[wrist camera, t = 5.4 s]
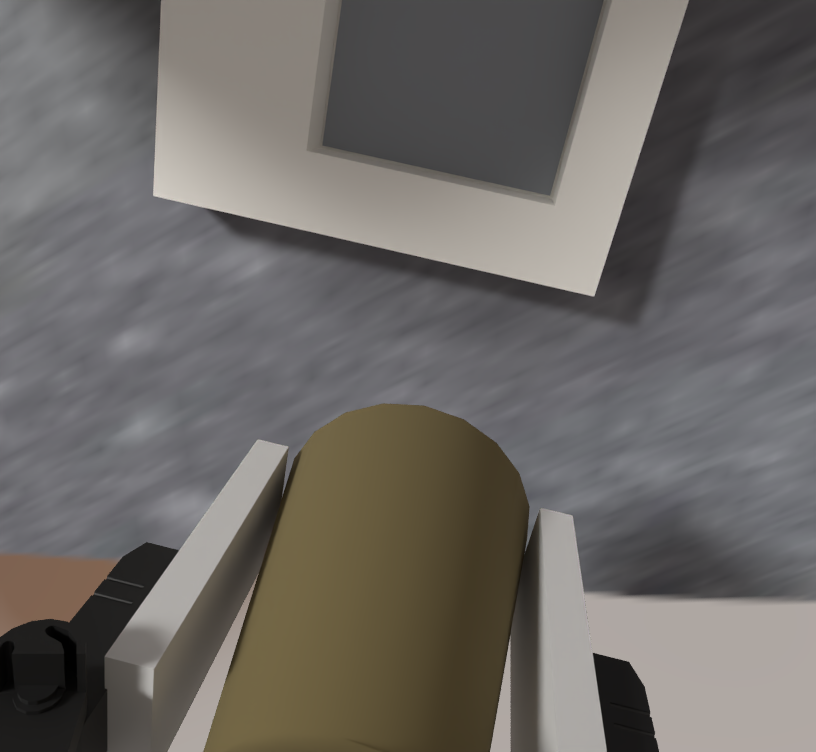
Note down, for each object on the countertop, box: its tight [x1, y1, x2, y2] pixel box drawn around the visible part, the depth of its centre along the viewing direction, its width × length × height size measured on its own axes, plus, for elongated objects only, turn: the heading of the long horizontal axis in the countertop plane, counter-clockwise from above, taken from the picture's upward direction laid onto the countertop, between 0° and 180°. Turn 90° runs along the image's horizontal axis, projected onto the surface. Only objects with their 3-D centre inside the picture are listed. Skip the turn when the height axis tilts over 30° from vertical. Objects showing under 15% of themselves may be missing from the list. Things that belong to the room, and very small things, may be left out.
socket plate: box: [153, 0, 689, 297], centre depth 20 cm, size 15×13×2 cm
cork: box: [204, 404, 529, 752], centre depth 11 cm, size 6×6×11 cm
